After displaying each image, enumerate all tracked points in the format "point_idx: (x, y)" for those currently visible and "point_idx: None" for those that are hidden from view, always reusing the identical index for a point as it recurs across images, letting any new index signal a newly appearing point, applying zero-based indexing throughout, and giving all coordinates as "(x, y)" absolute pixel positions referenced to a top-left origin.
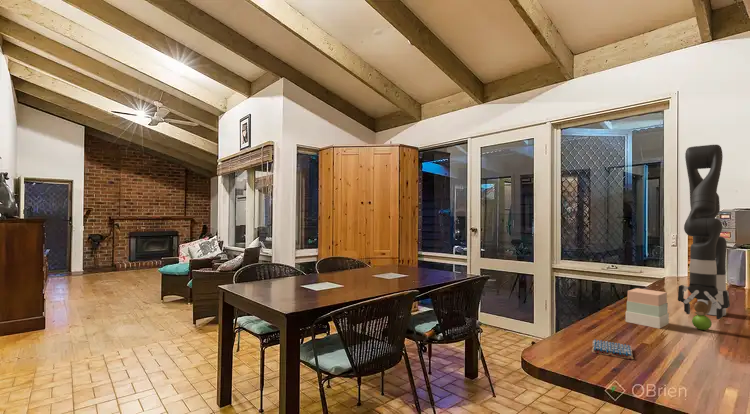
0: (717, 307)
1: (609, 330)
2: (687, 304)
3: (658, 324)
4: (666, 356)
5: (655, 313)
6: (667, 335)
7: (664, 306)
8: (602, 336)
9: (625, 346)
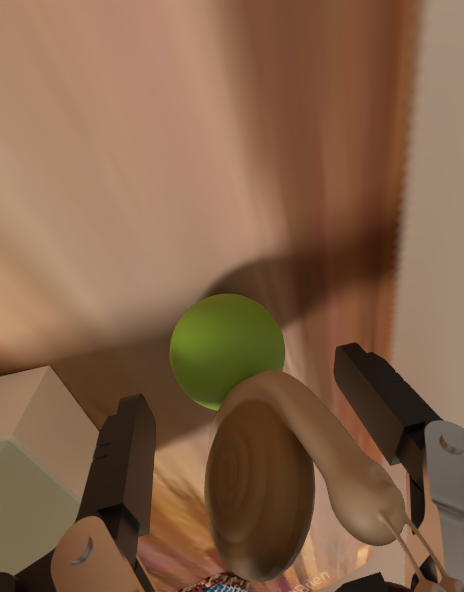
0: (409, 482)
1: None
2: (139, 534)
3: None
4: None
5: None
6: (197, 489)
7: (23, 563)
8: None
9: (220, 590)
